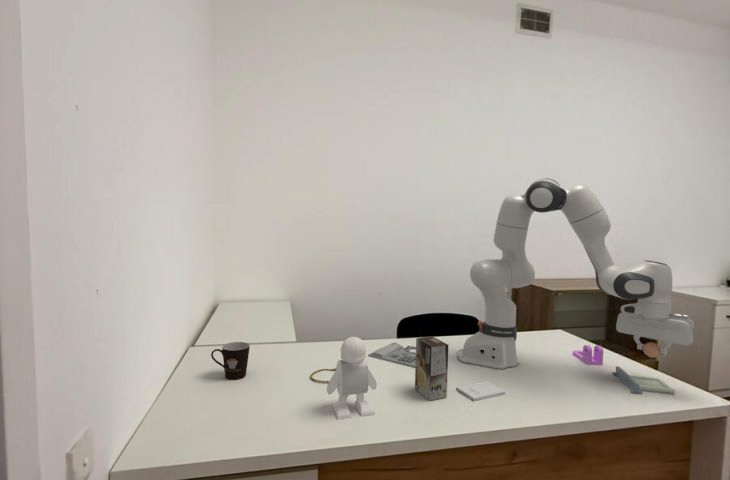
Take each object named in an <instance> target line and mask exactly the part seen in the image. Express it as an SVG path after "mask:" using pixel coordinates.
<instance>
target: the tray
mask: <svg viewBox="0 0 730 480" xmlns="http://www.w3.org/2000/svg"><path fill="white" fill-rule="evenodd" d="M628 375H629V376H630V377H631V378H633V379H634V380H635V381H636V382H637V383H638V384H639V390H641V391H642V392H648V393H649V392H650V393H657V394H665V395H675V389H674V388H673V387H671V386H669V385H668V384H667V383H666V382H665V381H663V380H662V379H661V378H659V377H650V376H643V375H636V374H635V375H633V374H628Z"/></svg>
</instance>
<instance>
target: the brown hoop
mask: <svg viewBox="0 0 730 480" xmlns="http://www.w3.org/2000/svg"><path fill="white" fill-rule="evenodd" d="M336 368H337V366H336ZM336 368H322V369H318V370H315V371H313V372H312V373H311V374H310V375H309V376H310V377H309V378H310V379H311V380H312V381H313V382H314V383H318V384H328V383H329V381H330V380H320V379H315V378H314V377H313V376H314V375H315V374H316V373H319V372H322V371H323V372H324V371H333V372H335V371H336Z"/></svg>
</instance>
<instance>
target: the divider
mask: <svg viewBox="0 0 730 480" xmlns="http://www.w3.org/2000/svg"><path fill="white" fill-rule="evenodd" d="M611 374H612V375H613V376H616V377H618V378H619V380H621V382H623V383H624V384H625V385H626V387H628V388H629V389H630V390H629V392H630V393H632V394H638V395H643V391H641V390H639V384H638V383H637V382H636V381H635V380H634V379H633V378H631V377H630V376H629V375H630V374H629V373H627V372H626V371H625V370H624V369H622V367H620V366H617V365H616V366H615V371H612V373H611Z"/></svg>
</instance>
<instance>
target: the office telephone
mask: <svg viewBox="0 0 730 480" xmlns="http://www.w3.org/2000/svg"><path fill="white" fill-rule="evenodd" d="M411 350H415V352H414V351H411ZM367 357H370V358H374V359H377V360H382V361H386V362H390V363H394V364H397V365H402V366H406V367H410V368H414V369H416V346H414V345H407V346H405V347H404V346H403V345H401V344H399V343H397V342H391V343H389V344H387V345H385V346H383V347H381V348H379V349H377V350H375V351H373V352H371V353H369V354H367Z"/></svg>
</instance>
